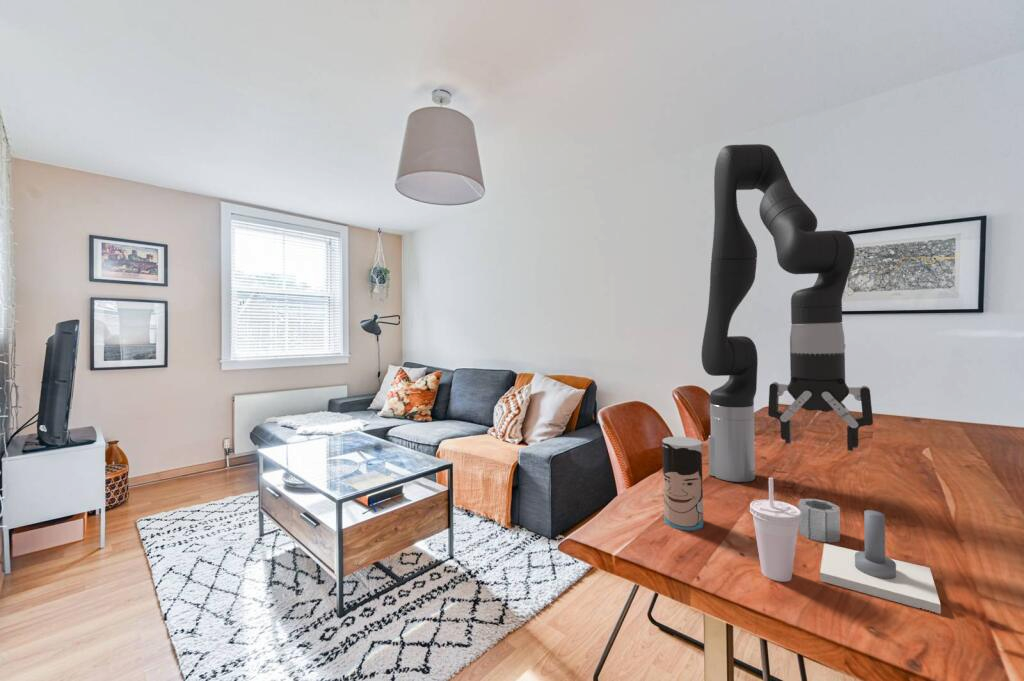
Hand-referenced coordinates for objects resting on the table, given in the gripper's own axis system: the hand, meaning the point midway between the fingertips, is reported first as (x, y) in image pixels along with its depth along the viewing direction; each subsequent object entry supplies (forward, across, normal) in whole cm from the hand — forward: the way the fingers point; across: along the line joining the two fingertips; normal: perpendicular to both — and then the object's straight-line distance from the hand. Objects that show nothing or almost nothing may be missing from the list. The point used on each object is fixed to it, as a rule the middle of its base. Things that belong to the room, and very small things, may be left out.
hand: (818, 446), depth 73 cm
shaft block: (+15, +7, -11) cm, 20 cm away
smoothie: (+15, -4, -18) cm, 24 cm away
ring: (+15, 0, 0) cm, 15 cm away
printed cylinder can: (+15, -20, -8) cm, 26 cm away
